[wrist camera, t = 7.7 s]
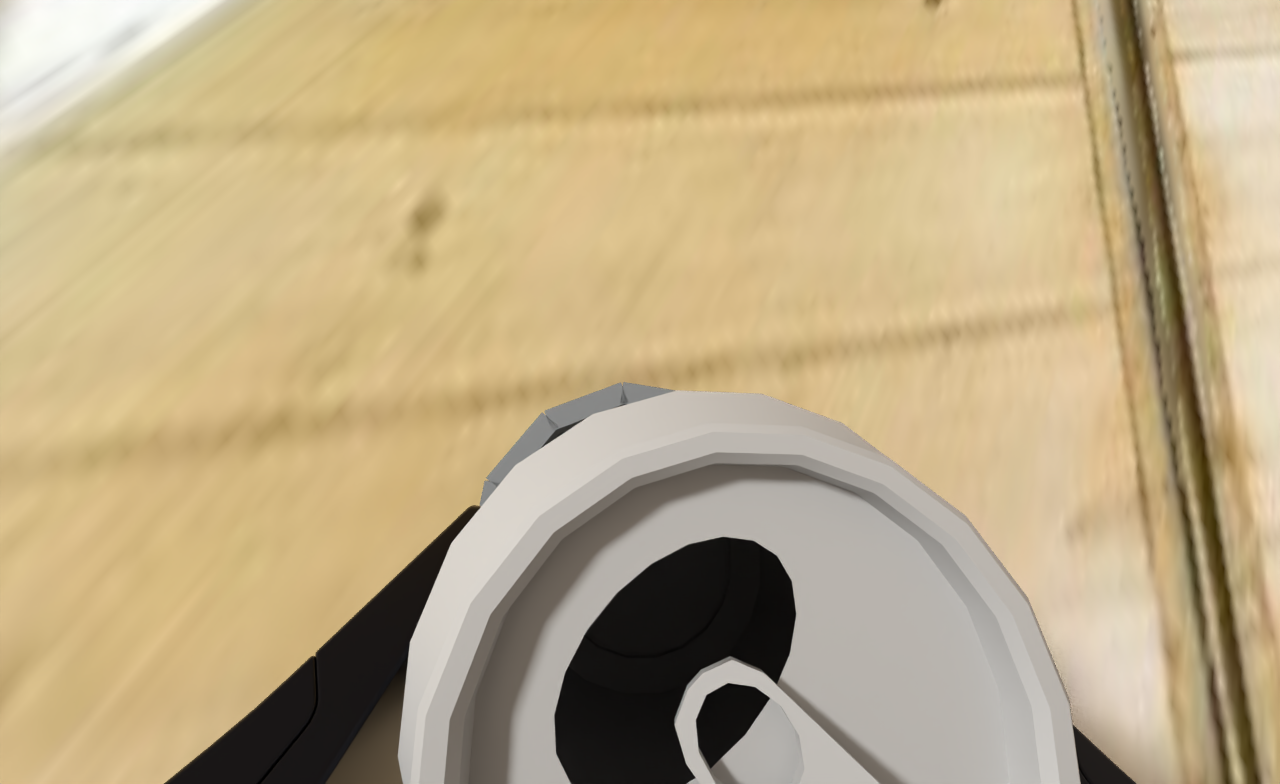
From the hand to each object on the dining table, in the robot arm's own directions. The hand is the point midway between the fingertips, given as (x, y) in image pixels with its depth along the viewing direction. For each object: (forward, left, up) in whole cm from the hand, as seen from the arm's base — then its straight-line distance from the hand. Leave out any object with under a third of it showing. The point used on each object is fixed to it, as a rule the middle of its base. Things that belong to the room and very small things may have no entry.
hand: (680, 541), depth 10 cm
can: (-1, +1, -7) cm, 7 cm away
